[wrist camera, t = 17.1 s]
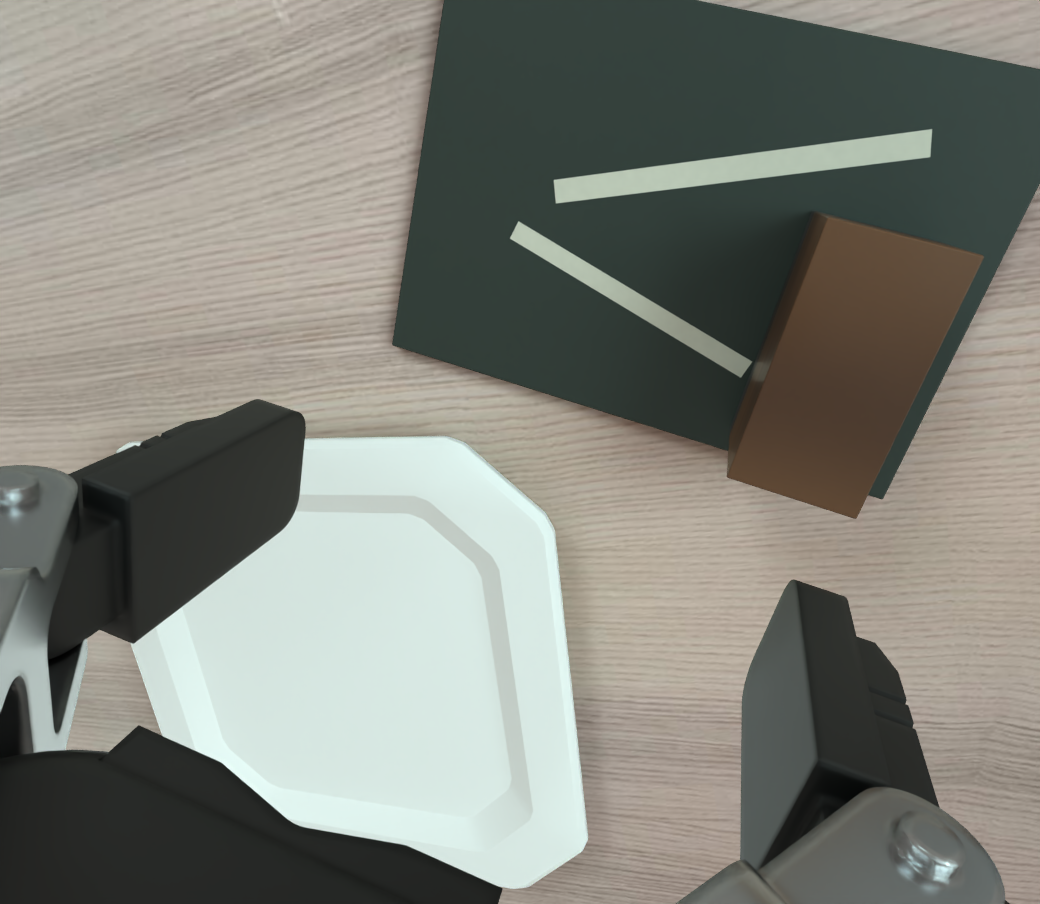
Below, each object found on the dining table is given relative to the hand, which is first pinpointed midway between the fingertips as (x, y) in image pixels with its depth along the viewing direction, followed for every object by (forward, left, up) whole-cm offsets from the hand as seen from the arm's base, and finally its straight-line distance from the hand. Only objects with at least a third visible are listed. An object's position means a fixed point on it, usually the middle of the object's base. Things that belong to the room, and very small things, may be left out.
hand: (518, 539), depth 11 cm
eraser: (-1, +6, -17) cm, 18 cm away
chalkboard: (-4, 0, -17) cm, 18 cm away
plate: (+20, -10, -18) cm, 29 cm away
